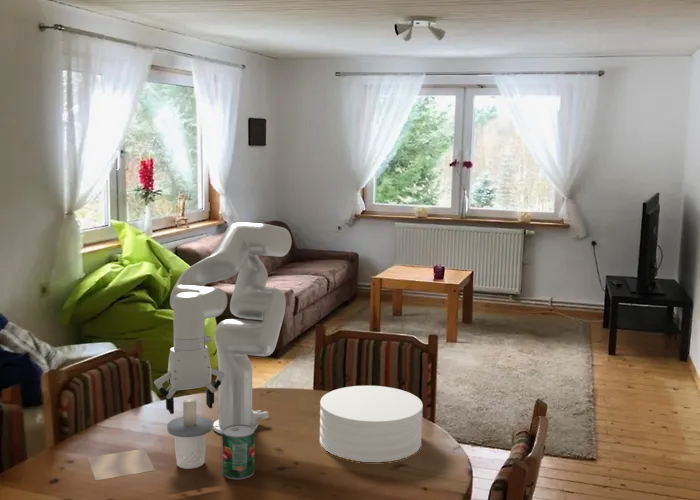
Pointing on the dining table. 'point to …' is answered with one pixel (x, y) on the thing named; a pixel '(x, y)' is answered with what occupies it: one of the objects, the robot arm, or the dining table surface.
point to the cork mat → (120, 464)
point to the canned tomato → (238, 451)
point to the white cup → (190, 451)
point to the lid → (189, 422)
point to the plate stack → (370, 423)
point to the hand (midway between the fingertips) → (190, 409)
